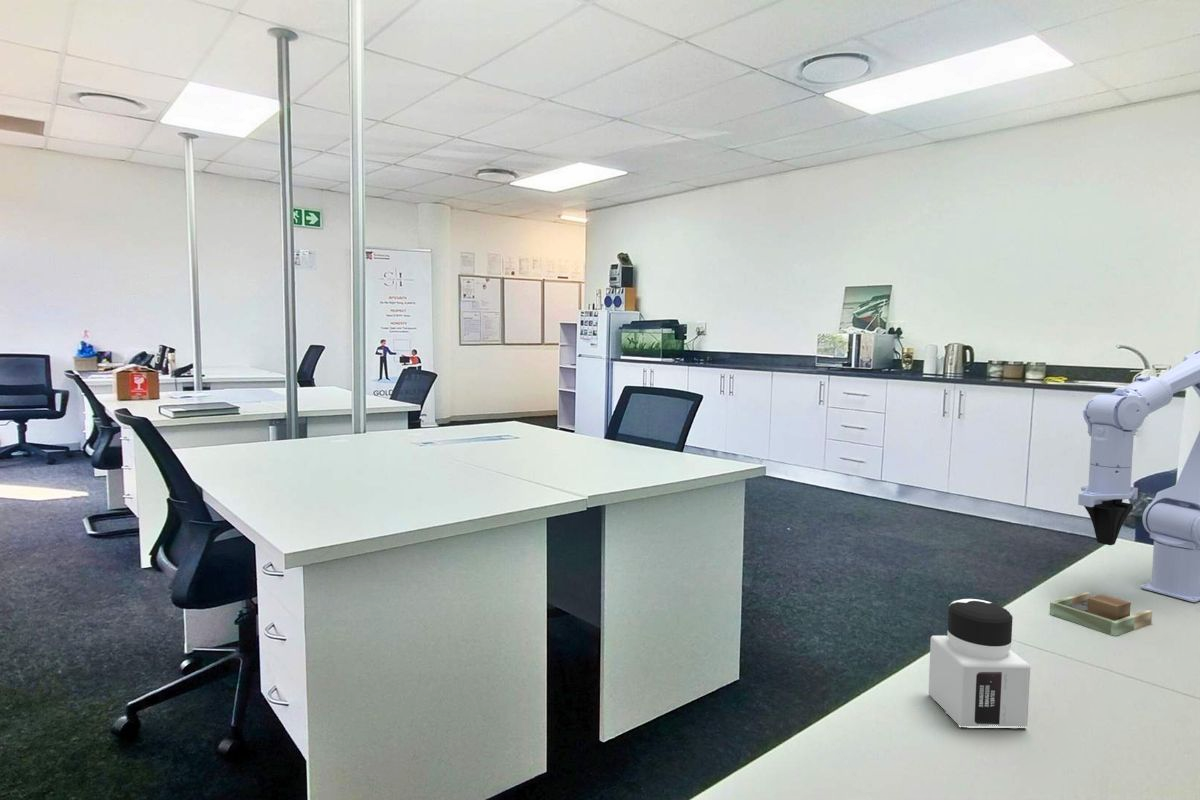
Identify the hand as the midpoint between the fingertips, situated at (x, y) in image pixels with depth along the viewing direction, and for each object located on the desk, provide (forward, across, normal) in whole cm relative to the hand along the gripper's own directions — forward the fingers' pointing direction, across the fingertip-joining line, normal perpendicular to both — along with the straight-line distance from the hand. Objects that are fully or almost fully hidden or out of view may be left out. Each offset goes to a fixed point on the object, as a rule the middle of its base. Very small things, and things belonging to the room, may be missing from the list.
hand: (1105, 543), depth 114 cm
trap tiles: (+10, +8, +1) cm, 13 cm away
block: (+10, +11, +6) cm, 16 cm away
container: (+10, +54, +13) cm, 56 cm away
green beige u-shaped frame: (+10, +10, +4) cm, 15 cm away
